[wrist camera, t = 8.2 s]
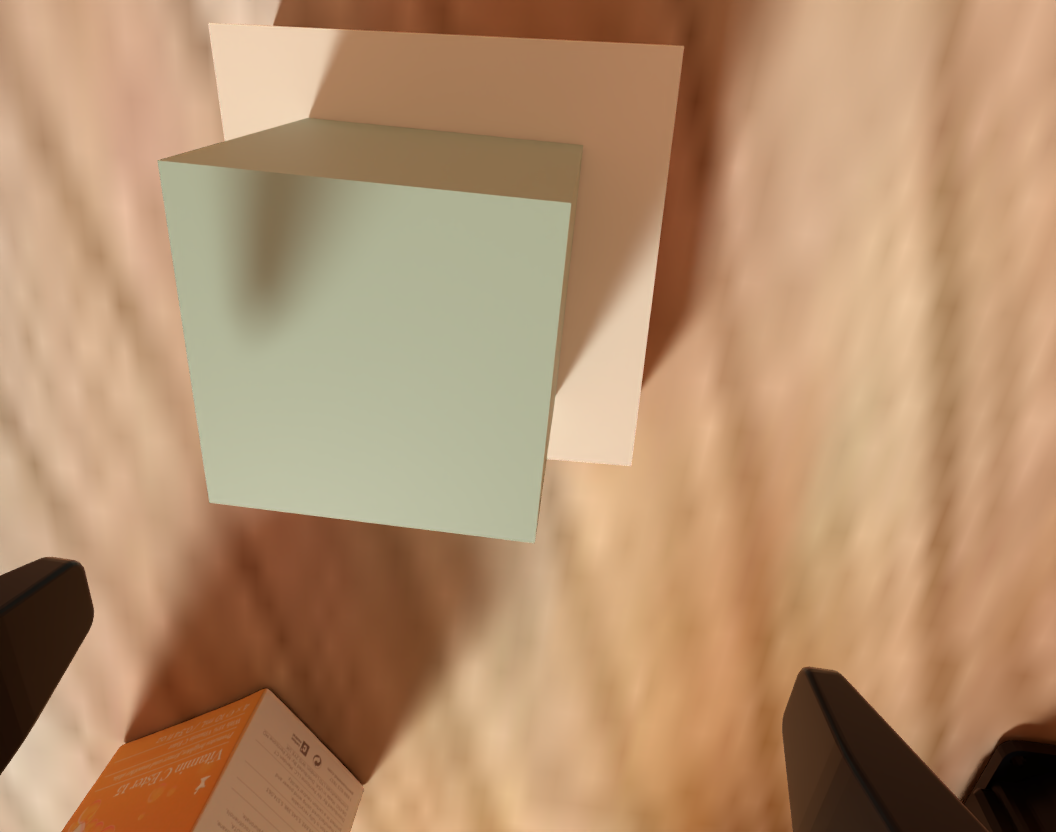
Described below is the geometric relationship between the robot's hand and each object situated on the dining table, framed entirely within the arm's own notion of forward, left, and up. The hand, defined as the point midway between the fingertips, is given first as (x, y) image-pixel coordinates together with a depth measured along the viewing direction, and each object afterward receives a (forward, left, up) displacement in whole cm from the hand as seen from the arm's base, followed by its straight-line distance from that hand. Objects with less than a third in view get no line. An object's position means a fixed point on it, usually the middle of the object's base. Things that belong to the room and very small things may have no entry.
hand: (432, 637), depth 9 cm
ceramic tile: (+2, -2, -12) cm, 12 cm away
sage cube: (+2, -2, -9) cm, 9 cm away
